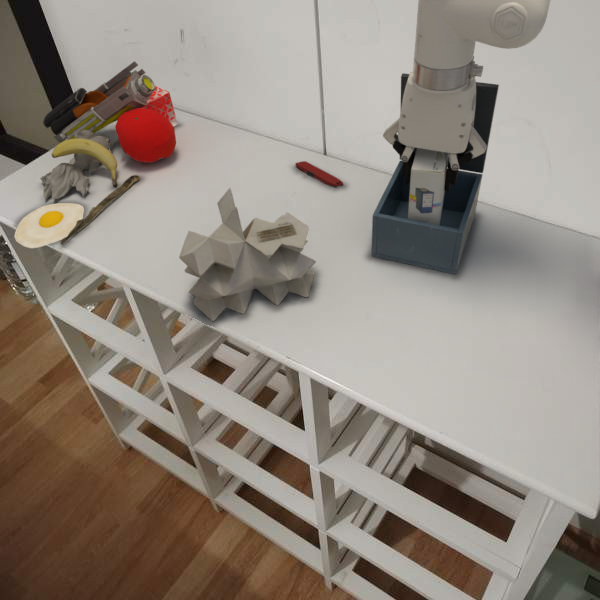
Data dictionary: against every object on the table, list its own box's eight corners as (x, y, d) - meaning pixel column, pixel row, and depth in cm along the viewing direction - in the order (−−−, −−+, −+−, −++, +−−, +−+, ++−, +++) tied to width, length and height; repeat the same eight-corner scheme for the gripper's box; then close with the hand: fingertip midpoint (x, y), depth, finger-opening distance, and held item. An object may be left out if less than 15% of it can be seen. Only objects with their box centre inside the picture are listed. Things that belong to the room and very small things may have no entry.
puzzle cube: (118, 96, 124) (140, 107, 120) (147, 81, 128) (169, 92, 124) (129, 129, 130) (150, 140, 126) (156, 114, 134) (177, 124, 130)
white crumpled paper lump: (205, 224, 75) (193, 163, 85) (164, 320, 86) (157, 256, 96) (348, 257, 86) (322, 199, 96) (295, 339, 96) (277, 279, 106)
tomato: (96, 129, 113) (117, 168, 121) (149, 137, 109) (167, 177, 117) (125, 95, 119) (144, 134, 127) (177, 101, 114) (192, 142, 123)
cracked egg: (76, 242, 104) (74, 236, 103) (8, 251, 104) (5, 245, 103) (87, 199, 113) (84, 194, 112) (24, 207, 113) (21, 202, 112)
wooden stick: (58, 245, 104) (54, 237, 102) (136, 176, 117) (133, 168, 116) (65, 248, 103) (60, 239, 102) (142, 178, 116) (139, 170, 115)
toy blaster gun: (116, 70, 108) (129, 42, 114) (36, 131, 121) (52, 103, 127) (152, 106, 114) (163, 78, 120) (73, 161, 127) (86, 133, 133)
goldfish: (78, 198, 109) (36, 165, 106) (62, 224, 116) (22, 194, 113) (131, 147, 123) (94, 116, 120) (113, 173, 129) (78, 145, 127)
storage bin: (455, 274, 92) (462, 233, 85) (371, 256, 96) (372, 215, 90) (474, 215, 101) (482, 174, 95) (397, 200, 106) (399, 160, 99)
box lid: (497, 87, 81) (505, 65, 83) (400, 76, 85) (410, 55, 88) (482, 173, 94) (489, 152, 97) (399, 159, 99) (407, 139, 101)
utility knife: (301, 162, 116) (294, 167, 115) (300, 158, 115) (293, 162, 114) (343, 185, 110) (336, 190, 109) (343, 181, 109) (336, 186, 108)
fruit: (116, 189, 115) (118, 180, 113) (48, 161, 111) (49, 151, 109) (127, 163, 119) (130, 154, 117) (63, 136, 115) (64, 125, 113)
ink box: (437, 235, 91) (447, 173, 82) (405, 231, 92) (410, 169, 83) (443, 202, 96) (452, 140, 87) (412, 198, 97) (418, 137, 89)
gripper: (513, 64, 75) (489, 178, 89) (387, 51, 81) (382, 160, 94) (503, 92, 71) (480, 207, 84) (371, 75, 76) (368, 187, 89)
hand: (428, 182), depth 89 cm, fingers closed on ink box, 5 cm apart
